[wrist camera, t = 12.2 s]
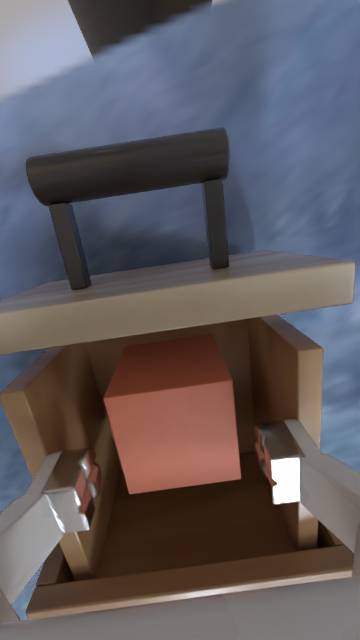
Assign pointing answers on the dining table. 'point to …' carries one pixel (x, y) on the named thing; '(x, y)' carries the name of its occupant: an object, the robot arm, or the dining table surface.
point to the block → (174, 415)
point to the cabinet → (185, 579)
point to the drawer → (160, 325)
